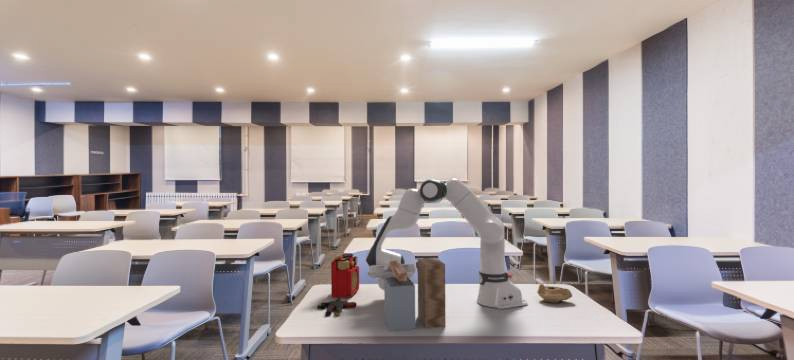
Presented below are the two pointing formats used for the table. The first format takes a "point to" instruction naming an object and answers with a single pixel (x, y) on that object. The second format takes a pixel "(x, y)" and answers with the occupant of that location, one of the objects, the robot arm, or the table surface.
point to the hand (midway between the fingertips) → (394, 265)
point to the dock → (399, 304)
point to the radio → (344, 276)
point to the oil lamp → (553, 293)
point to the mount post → (431, 292)
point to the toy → (336, 306)
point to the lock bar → (398, 271)
